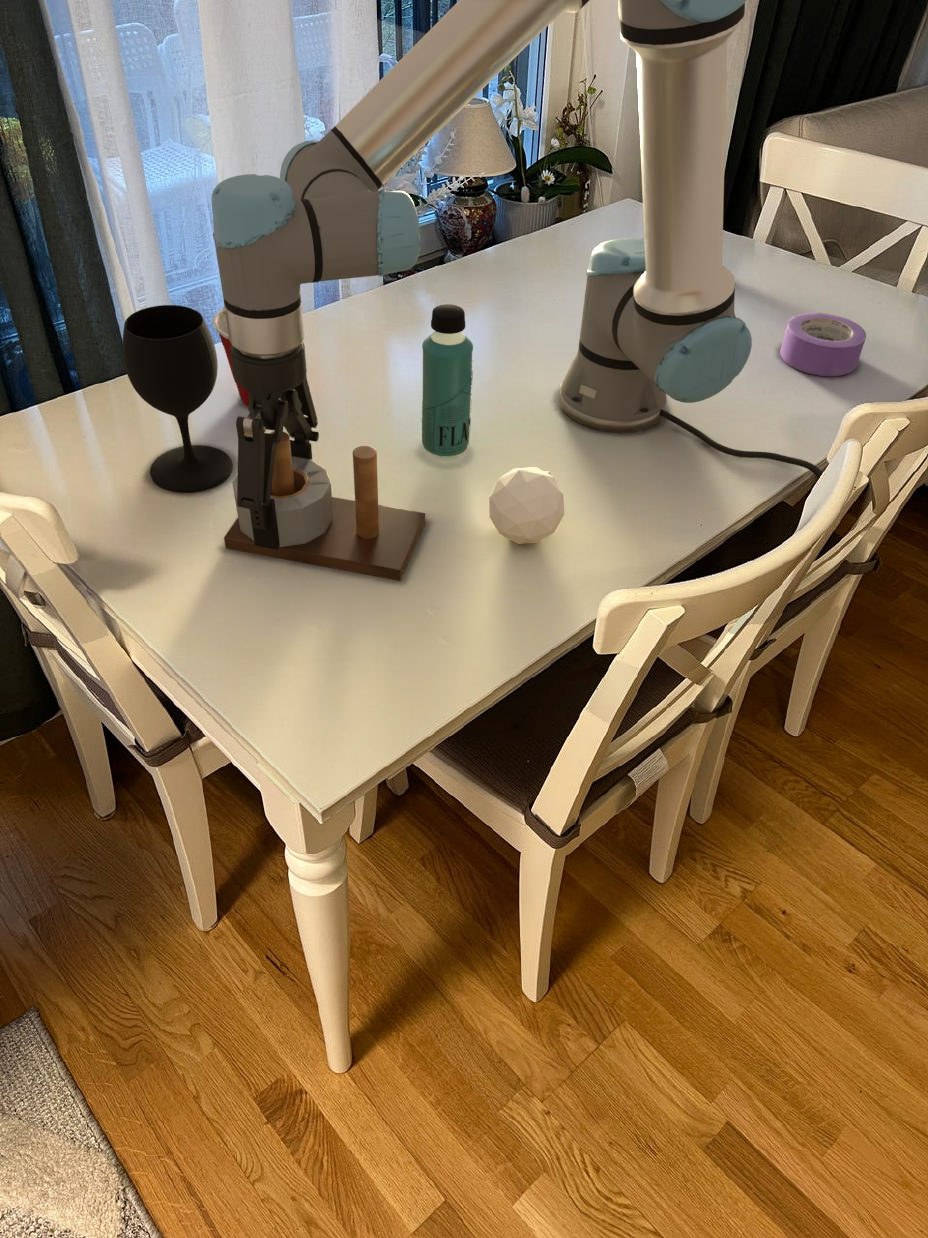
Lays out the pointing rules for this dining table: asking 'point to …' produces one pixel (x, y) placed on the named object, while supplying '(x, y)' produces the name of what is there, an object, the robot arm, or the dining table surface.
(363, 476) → the peg rack
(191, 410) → the wine glass
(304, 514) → the duct tape
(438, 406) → the beverage bottle
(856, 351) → the tape roll
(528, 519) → the white faceted ball
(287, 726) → the dining table surface
